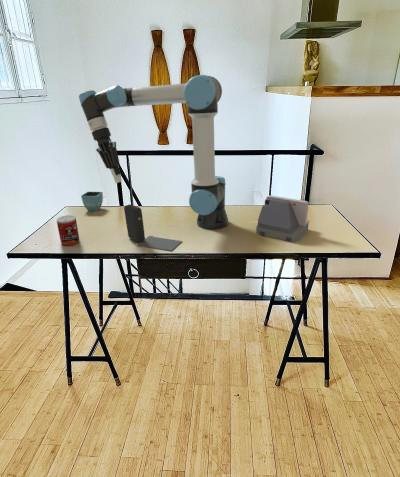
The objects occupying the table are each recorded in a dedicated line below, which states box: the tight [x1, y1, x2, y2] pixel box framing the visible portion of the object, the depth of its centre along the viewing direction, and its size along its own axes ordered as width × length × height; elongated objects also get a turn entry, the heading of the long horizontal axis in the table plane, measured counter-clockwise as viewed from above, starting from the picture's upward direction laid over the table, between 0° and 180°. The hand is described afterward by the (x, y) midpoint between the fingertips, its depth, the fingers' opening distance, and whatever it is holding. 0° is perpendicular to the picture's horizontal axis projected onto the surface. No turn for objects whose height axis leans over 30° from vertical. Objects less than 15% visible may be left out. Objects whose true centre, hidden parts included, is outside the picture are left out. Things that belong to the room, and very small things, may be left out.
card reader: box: [123, 204, 146, 243], centre depth 147 cm, size 9×4×15 cm, turn 42°
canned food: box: [56, 215, 80, 247], centre depth 147 cm, size 8×8×11 cm
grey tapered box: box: [255, 195, 310, 243], centre depth 154 cm, size 21×21×15 cm
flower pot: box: [80, 191, 104, 212], centre depth 187 cm, size 9×9×9 cm
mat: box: [136, 235, 183, 252], centre depth 146 cm, size 16×10×1 cm, turn 68°
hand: (118, 182), depth 154 cm, fingers closed
